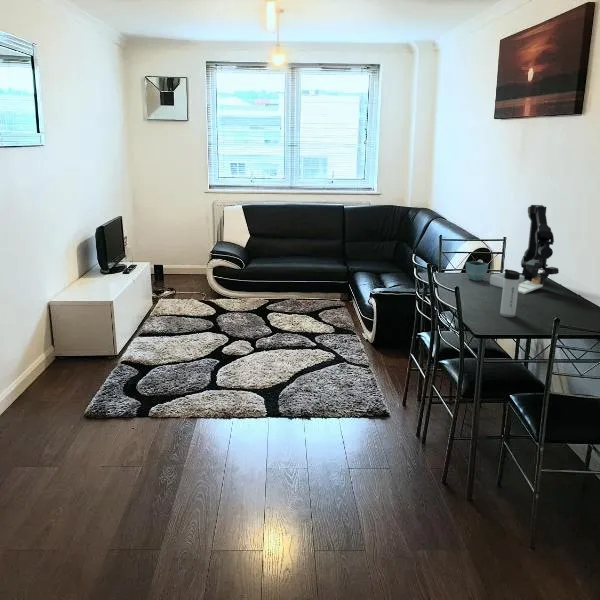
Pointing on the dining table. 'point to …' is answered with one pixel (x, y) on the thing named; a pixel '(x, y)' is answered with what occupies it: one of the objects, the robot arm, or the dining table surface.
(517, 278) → the travel mug
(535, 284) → the lid
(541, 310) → the dining table surface
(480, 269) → the flower pot
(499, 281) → the white open box
